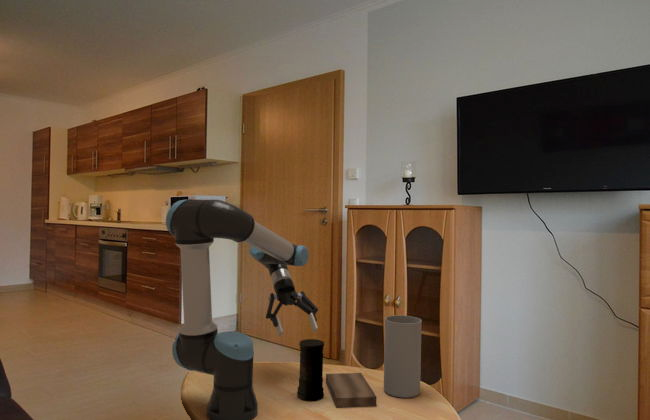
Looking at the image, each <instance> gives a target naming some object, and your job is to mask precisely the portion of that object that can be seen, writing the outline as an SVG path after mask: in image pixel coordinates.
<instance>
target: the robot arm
mask: <svg viewBox="0 0 650 420" xmlns="http://www.w3.org/2000/svg"><path fill="white" fill-rule="evenodd" d="M165 226H166V229H167V231H168V232H169V234H171V236H173V237H174V244H175V245H176V247H178V248H179V249H180V265H181V266H180V267H181V285H182V307H183V325H182V326H181V327H180V328H179V333H178V334H176V336H175V338H174V340H175V341H173V343H172V348H171V350H172V358H173V359H174V362H175V363H176V365H178V366H179V367H180V368H184V369H186V370H188V371H194V372H197V373H202V374H206V375H211V376H213V387H212V391H211V395H210V398H209V401H208V403H207V407H206V417H207V419H208V420H252V419H254V418H256V417H257V415H258V414H259V412H258V411H259V404H258V400H257V398H256V394H255V391H254V390H255V389H254V386H253V385H254V384H253V383H254V382H253V380H254V378H253V377H254V356H255V351H254V341H253V339H252V338H251V337H250V336H249V335H247V334H245V333H242V332H238V331H222V332H218V325H217V324H216V323H215V322H214V321H213V311H212V310H213V308H212V288H211V287H212V286H211V263H210V246H211V245H212V244H213V243H214V242H215V241H214V239H225V240H230V241H233V242H235V243H244V244H247V245H249V250H248V251H249V254H250V256H251V257H253V259H254V260H255V261H256V262H258V263H260V264H261V265H262V266H263V267H265V268H266V269H267V270H268V273H269V276H270V279H271V282H272V283H271V284H272V286H273V290H274V292H275V294H274V292H271V293H270V294H269V296H268V299H269V303H268V307H267V310H266V315H265V319H269V320H270V322H272V325H273V327H274V328H276V332H277V334H278V335H277V336H278V337H281V336H282V335H283V334H284V329H283V327H282V324H281V323H282V322H281V319H280V316H279V315H277V314H278V313H279V311H280V310H281V308H282V306H295V307H297V308H299V309H301V311H303V312H304V313H305V314H307V315H308V317H307V318H308V320H309V323H310V326H311V329H312V332H313V333H315V332H317V330H318V329H319V327H318V324H317V322H318V321H317V320H318V319H317V317H316V314H317V313H318V312H319V308H318V307H317V306H316V305H315V304H314V302H312V301H311V299H309V298H308V297H307V295H306V293H305V292H304V291H303V290H301V291H300V292H297V291H296V287H295V284H294V282H293V278H292V275H291V272H290V270H289V268H288V266H294V267H303V266H305V265H307V263H308V261H309V256H310V255H309V254H310V253H309V250H308V247H306V246H305V245H301V244H294V243H292V242H290V241H288V240H287V239H285V238H284V237H282V236H280V235H279V234H277V233H275V232H274V231H272V230H270V229H269V228H267V227H265V226H264V225H262V224H260V223H258V222H257V221H256V220H255V218H254V216H253V215H252V214H250V213H248V212H247V211H245V210H243V209H241V208H240V207H238V206H236V205H234V204H232V203H229V202H227V201H224V200H220V199H197V198H196V199H195V198H194V199H192V198H188V199H182V200H181V199H180V200H177V201H176V202H174V203H173V204H172V205H171V207H170V208H169V209H168V211H167V213H166V217H165ZM276 300H277V301H279V303H278V305H277V306H276V308H275V310H274V312H273V313H272V311H273V306H274V303H275V301H276Z"/></svg>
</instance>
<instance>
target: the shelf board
mask: <svg viewBox="0 0 650 420" xmlns="http://www.w3.org/2000/svg"><path fill="white" fill-rule="evenodd" d="M325 383H326V384H325V385H326V386H327V388H328V391H329V394H330V396H331V399H332V400H333V403H334V406H335V408H336V409H340V408H360V407H362V408H365V407H367V408H369V407H377V395H376V393H374V391H373V388H372V387H371V385H370V384H369V382H368V381H367V380H366V379H365V377H364V375H363V374H362V372H349V373H348V372H345V373H343V372H342V373H325Z"/></svg>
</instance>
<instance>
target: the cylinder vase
mask: <svg viewBox="0 0 650 420" xmlns="http://www.w3.org/2000/svg"><path fill="white" fill-rule="evenodd" d="M422 321H423V320H422V319H421V318H419V317H415V316H411V315H404V314H403V315H400V314H399V315H397V314H396V315H389V316H385V318H384V351H383V353H384V354H383V355H384V357H383V359H384V360H383V390H384V392H385V393H386V394H387V395H389V396H392V397H395V398H401V399H410V398H411V399H412V398H414V397H415V398H416V397H417V396H418V395H420V393H421V378H422V377H421V376H422V375H421V374H422V372H421V371H422V370H421V368H422V367H421V366H422V365H421V364H422V361H421V360H422V326H423V325H422Z"/></svg>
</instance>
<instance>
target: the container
mask: <svg viewBox="0 0 650 420" xmlns="http://www.w3.org/2000/svg"><path fill="white" fill-rule="evenodd" d="M298 346H299V350H300V351H299V352H300V353H299V378H298V387H297V392H296V394H297V398H298V399H300V400H302V401H306V402H316V401H319V400H320V401H321V400H322V399H323V398H324V396H325V394H324V386H323V385H324V384H323V383H324V378H323V368H324V367H323V366H324V347H325V342H324V340H320V339H315V338H310V339H309V338H308V339H302V340H299V343H298Z"/></svg>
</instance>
